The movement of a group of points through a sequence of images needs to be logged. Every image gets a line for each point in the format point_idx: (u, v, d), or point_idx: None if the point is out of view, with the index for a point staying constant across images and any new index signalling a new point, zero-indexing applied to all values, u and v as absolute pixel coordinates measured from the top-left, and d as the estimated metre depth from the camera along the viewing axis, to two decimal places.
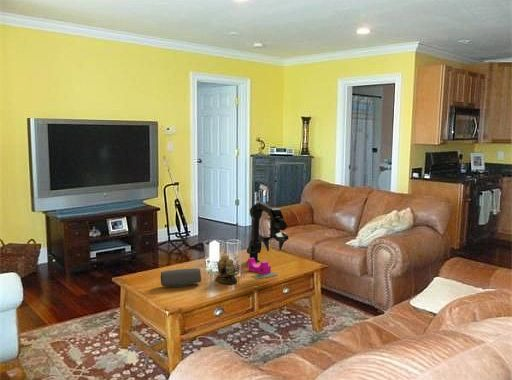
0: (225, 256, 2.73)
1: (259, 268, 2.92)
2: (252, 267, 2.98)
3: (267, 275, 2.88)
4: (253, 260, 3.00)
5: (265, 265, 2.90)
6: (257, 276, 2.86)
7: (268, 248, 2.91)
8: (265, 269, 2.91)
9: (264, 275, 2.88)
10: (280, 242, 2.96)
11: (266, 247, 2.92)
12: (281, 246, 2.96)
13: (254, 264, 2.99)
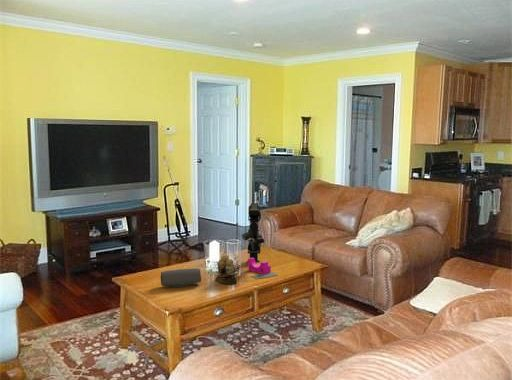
0: (225, 256, 2.73)
1: (259, 268, 2.92)
2: (252, 267, 2.98)
3: (267, 275, 2.88)
4: (253, 260, 3.00)
5: (265, 265, 2.90)
6: (257, 276, 2.86)
7: (252, 247, 3.02)
8: (265, 269, 2.91)
9: (264, 275, 2.88)
10: None
11: None
12: (252, 247, 3.01)
13: (254, 264, 2.99)
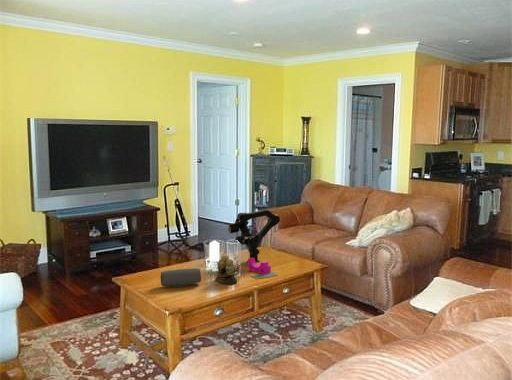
0: (225, 256, 2.73)
1: (259, 268, 2.92)
2: (252, 267, 2.98)
3: (267, 275, 2.88)
4: (253, 260, 3.00)
5: (265, 265, 2.90)
6: (257, 276, 2.86)
7: None
8: (265, 269, 2.91)
9: (264, 275, 2.88)
10: None
11: None
12: None
13: (254, 264, 2.99)
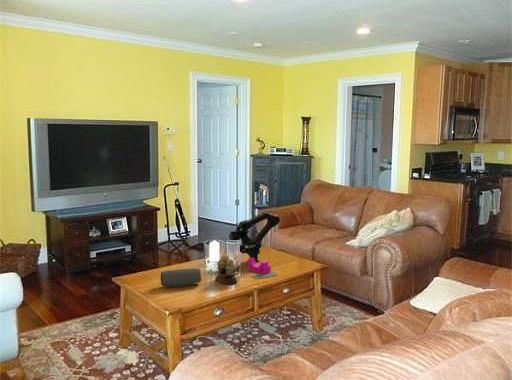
0: (225, 256, 2.73)
1: (259, 268, 2.92)
2: (252, 267, 2.98)
3: (267, 275, 2.88)
4: (253, 260, 3.00)
5: (265, 265, 2.90)
6: (257, 276, 2.86)
7: None
8: (265, 269, 2.91)
9: (264, 275, 2.88)
10: None
11: None
12: (250, 255, 3.06)
13: (254, 264, 2.99)
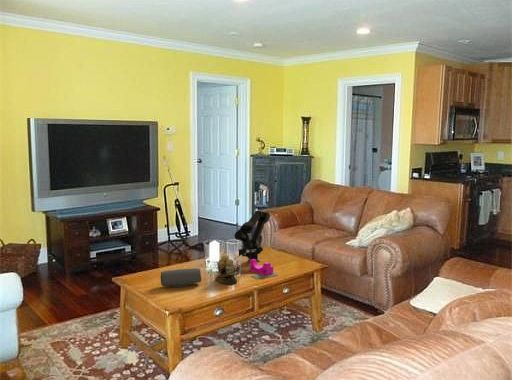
0: (225, 256, 2.73)
1: (262, 269, 2.90)
2: (254, 268, 2.95)
3: (267, 275, 2.88)
4: (255, 261, 2.97)
5: (268, 266, 2.88)
6: (257, 276, 2.86)
7: None
8: (268, 270, 2.88)
9: (264, 275, 2.88)
10: None
11: None
12: None
13: (256, 265, 2.96)
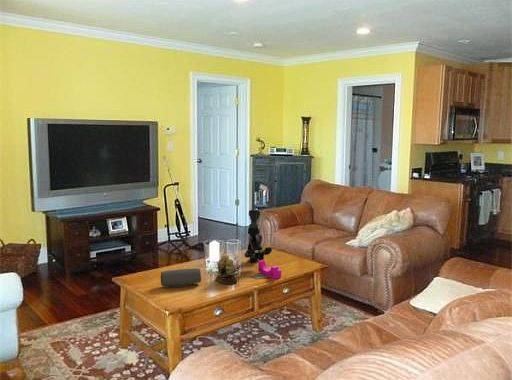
0: (225, 256, 2.73)
1: (269, 272, 2.84)
2: (262, 270, 2.89)
3: None
4: (263, 263, 2.91)
5: (275, 270, 2.81)
6: (257, 276, 2.86)
7: None
8: (275, 274, 2.82)
9: (264, 275, 2.88)
10: None
11: None
12: None
13: (264, 267, 2.90)
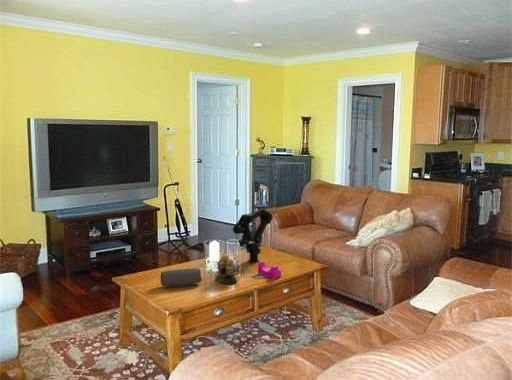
0: (225, 256, 2.73)
1: (269, 272, 2.84)
2: (262, 271, 2.89)
3: None
4: (263, 264, 2.91)
5: (275, 269, 2.81)
6: (257, 276, 2.86)
7: None
8: (275, 273, 2.82)
9: (264, 275, 2.88)
10: None
11: None
12: (251, 251, 3.05)
13: (264, 268, 2.90)
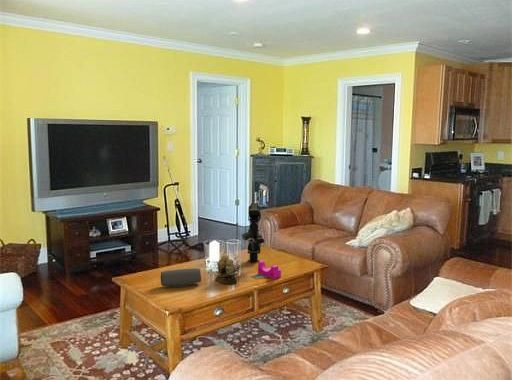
0: (225, 256, 2.73)
1: (269, 272, 2.84)
2: (262, 271, 2.89)
3: None
4: (263, 264, 2.91)
5: (275, 269, 2.81)
6: (257, 276, 2.86)
7: (252, 247, 3.02)
8: (275, 273, 2.82)
9: (264, 275, 2.88)
10: None
11: None
12: (252, 247, 3.02)
13: (264, 268, 2.90)
